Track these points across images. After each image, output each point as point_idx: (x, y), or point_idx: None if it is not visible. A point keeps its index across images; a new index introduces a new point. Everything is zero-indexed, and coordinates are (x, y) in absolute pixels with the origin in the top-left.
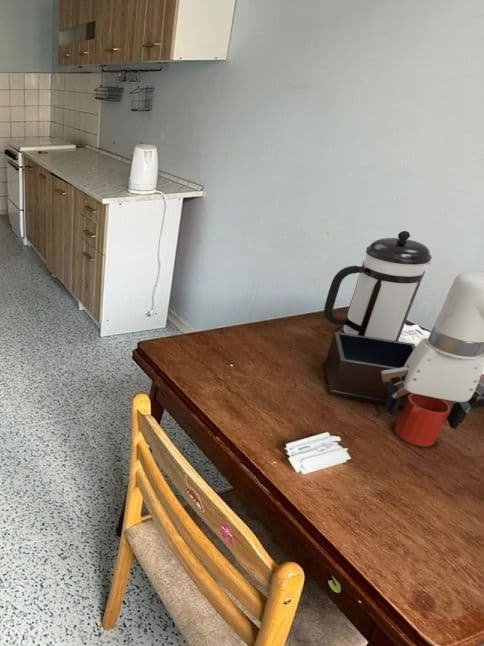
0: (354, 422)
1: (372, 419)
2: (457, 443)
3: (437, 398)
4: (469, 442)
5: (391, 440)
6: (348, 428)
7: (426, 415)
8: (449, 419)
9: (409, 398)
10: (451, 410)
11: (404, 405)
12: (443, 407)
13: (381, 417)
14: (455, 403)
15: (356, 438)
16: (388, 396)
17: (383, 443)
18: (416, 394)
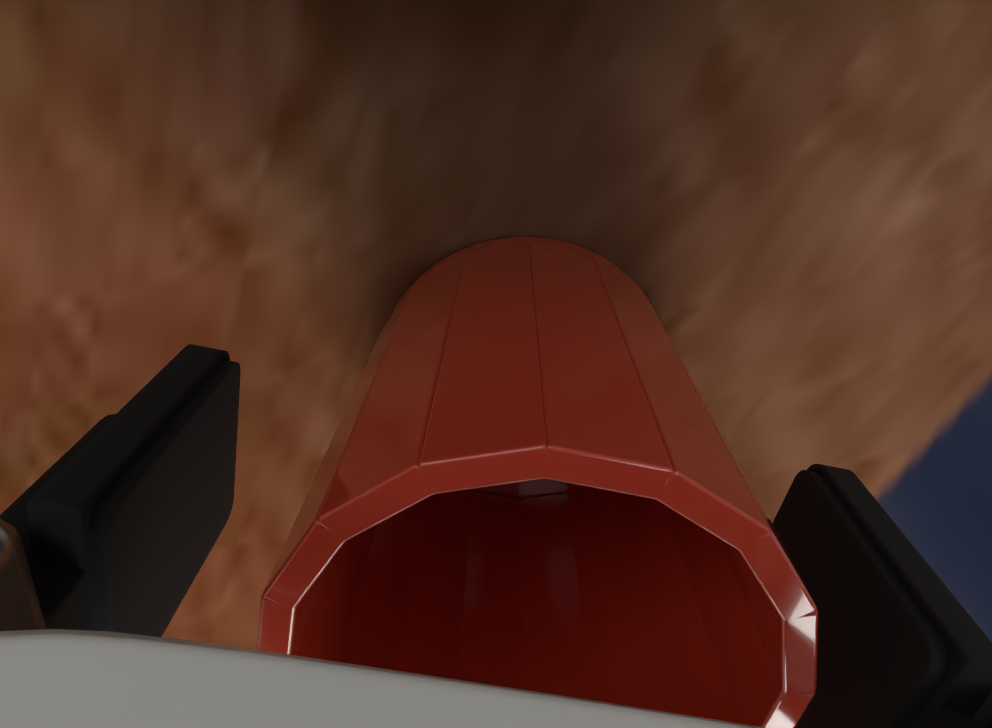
0: (60, 277)
1: (230, 198)
2: (822, 421)
3: (748, 566)
4: (935, 394)
5: (316, 463)
6: (7, 371)
7: None
8: (788, 545)
9: (273, 627)
10: (860, 568)
11: (309, 490)
12: (753, 610)
13: (326, 145)
14: (950, 652)
15: None
16: (31, 491)
17: (248, 503)
18: (452, 479)
